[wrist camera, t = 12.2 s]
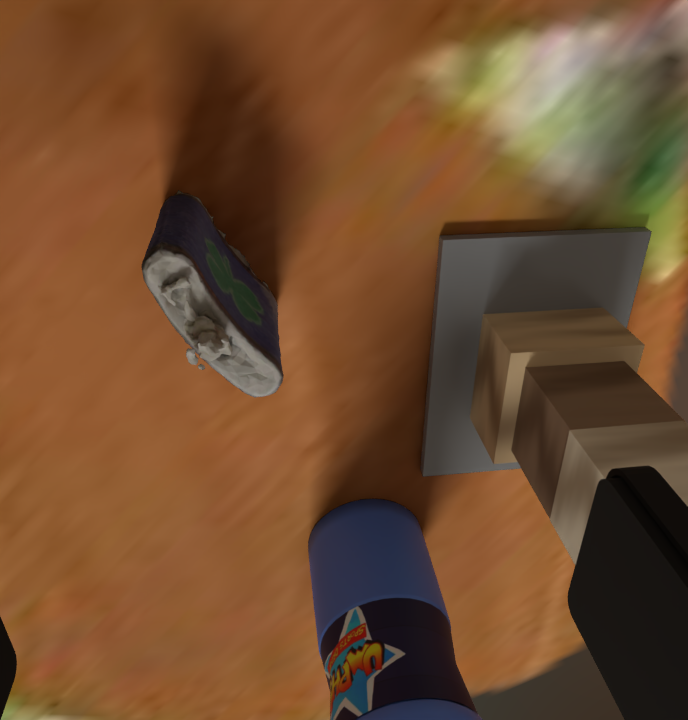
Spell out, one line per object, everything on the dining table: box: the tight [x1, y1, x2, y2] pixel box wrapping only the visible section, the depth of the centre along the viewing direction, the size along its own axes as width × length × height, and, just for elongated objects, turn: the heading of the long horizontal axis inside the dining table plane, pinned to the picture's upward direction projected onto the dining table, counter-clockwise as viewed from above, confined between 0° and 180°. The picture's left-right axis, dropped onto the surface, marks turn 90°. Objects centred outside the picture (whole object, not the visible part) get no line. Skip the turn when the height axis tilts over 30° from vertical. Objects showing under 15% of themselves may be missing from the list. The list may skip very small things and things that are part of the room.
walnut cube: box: [511, 361, 684, 518], centre depth 35 cm, size 6×6×6 cm
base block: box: [470, 308, 644, 464], centre depth 40 cm, size 8×8×5 cm
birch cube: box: [550, 421, 688, 565], centre depth 30 cm, size 6×6×6 cm
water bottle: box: [308, 499, 483, 720], centre depth 39 cm, size 9×9×25 cm
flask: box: [142, 190, 283, 397], centre depth 32 cm, size 9×3×11 cm, turn 32°
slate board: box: [420, 227, 652, 477], centre depth 42 cm, size 18×13×1 cm
